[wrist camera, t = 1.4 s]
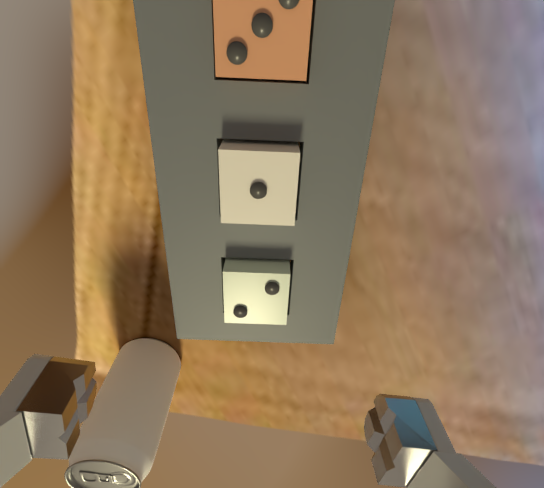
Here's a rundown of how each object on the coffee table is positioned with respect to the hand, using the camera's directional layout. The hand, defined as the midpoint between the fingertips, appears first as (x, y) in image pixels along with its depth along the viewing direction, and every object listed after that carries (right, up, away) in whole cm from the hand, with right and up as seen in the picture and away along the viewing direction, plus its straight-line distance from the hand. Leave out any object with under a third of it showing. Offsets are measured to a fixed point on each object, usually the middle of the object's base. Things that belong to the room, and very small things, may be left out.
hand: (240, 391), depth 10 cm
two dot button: (0, +2, +20) cm, 20 cm away
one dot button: (0, +9, +15) cm, 18 cm away
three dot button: (0, +17, +11) cm, 20 cm away
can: (-12, -8, +27) cm, 30 cm away
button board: (0, +10, +16) cm, 19 cm away
